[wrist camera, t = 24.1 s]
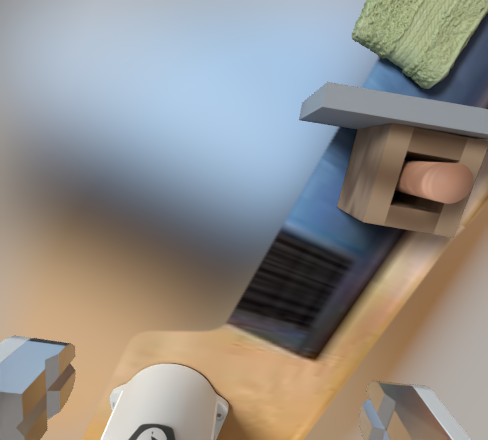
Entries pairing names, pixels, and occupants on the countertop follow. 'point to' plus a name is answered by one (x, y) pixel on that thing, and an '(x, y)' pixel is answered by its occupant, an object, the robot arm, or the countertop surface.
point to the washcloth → (419, 33)
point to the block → (388, 170)
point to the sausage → (435, 180)
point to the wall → (391, 111)
